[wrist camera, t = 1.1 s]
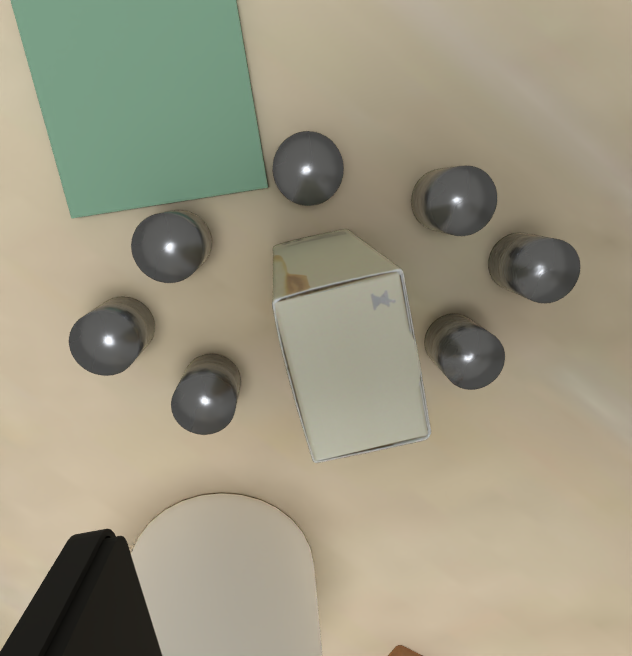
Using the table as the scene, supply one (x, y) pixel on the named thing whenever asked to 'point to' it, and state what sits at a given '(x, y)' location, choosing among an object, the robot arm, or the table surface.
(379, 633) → the table surface
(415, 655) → the brown wooden carved piece
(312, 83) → the table surface
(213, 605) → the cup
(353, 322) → the skincare box
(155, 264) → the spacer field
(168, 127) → the coaster
